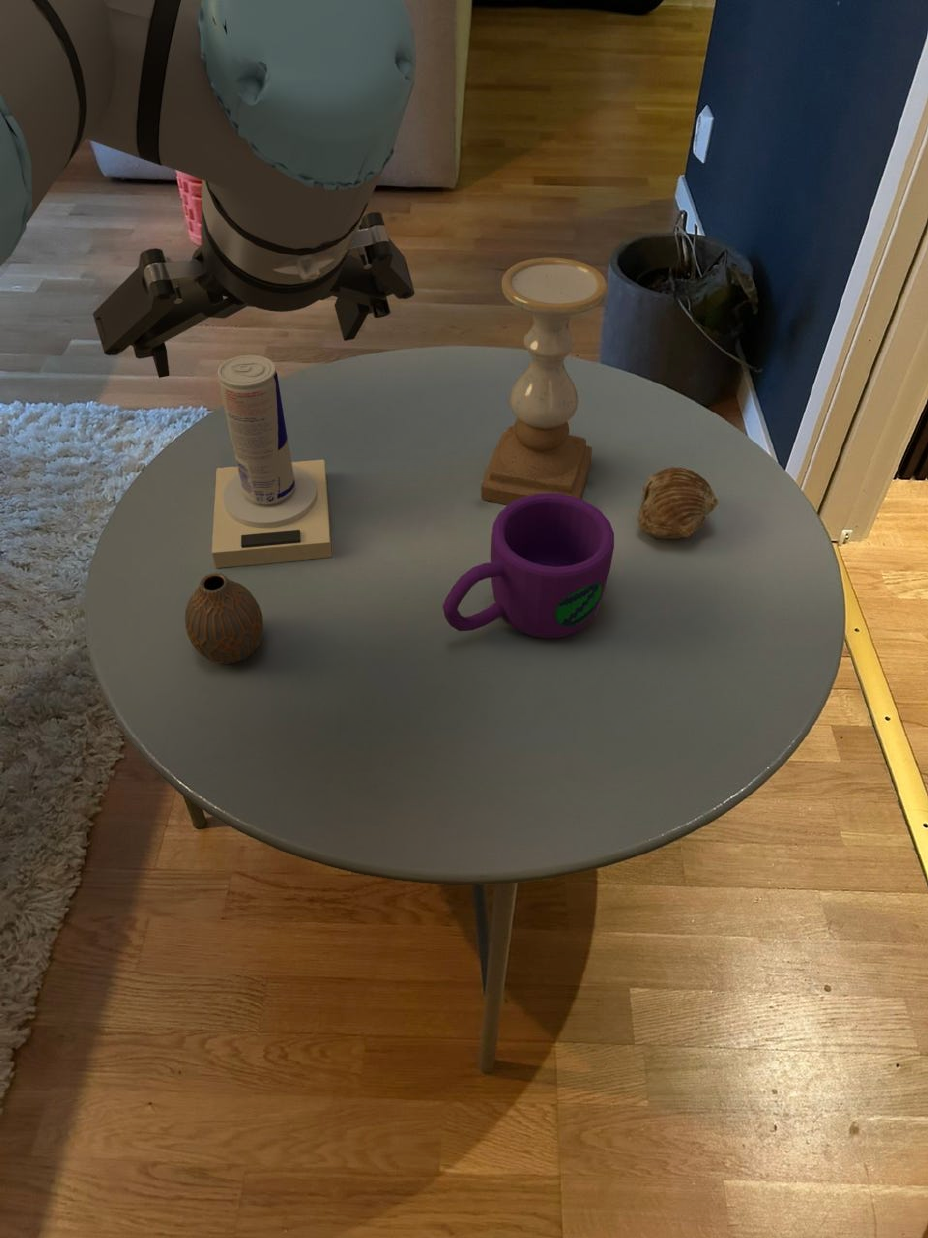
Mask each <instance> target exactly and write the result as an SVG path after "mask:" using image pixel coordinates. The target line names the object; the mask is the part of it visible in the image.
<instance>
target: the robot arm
mask: <svg viewBox="0 0 928 1238" xmlns="http://www.w3.org/2000/svg"><path fill="white" fill-rule="evenodd" d="M415 38H416V37H415V31H414V28H413V23H412V19H411V16H410V13H409V9H408V7H407V5H406V3H405V1H404V0H0V267H1V266H2V265H3V264H4V263H6V261H8V259H9V258H10V257H12V255H13V253H14V251H15V250H16V248H17V246H18V244H19V242H20V241H21V239H22V237H23V236H24V234H25V232H26V231H27V225H28V223H29V221H30V220H31V218H32V216H33V215H34V213H35V212H36V211H37V209H38V208H39V206H40V204H41V203H42V201H43V200H44V199H45V197H46V195H47V194H48V193H49V191H50V190H51V189H52V186H53V185H54V184H55V182H56V180H57V179H58V177H59V176H60V175H61V173H62V172H63V171H65V169H66V168H67V167H68V165H69V163H70V162H71V160H72V159H73V157H74V156H75V155H76V153H77V152H78V151H79V149H80V148H81V147H82V145H83V144H84V143H85V142H86V140H88V141H91V142H94V143H96V144H99V145H102V146H104V147H108V148H111V149H113V150H116V151H118V152H119V151H120V152H122V153H123V154H124V153H125V154H127V155H129V156H133V157H135V158H137V159H141V160H143V161H146V162H150V163H152V164H154V165H158V166H160V167H166V168H169V169H172V170H174V171H177V172H180V173H182V174H186V175H188V176H191V177H194V178H196V179H199V180H201V229H200V230H201V234H200V236H201V244H200V245H199V247H198V248H196V249H195V251H194V252H193V254H192V256H191V259H186V260H184V259H183V260H176V261H172V258H171V257H169V256H165V253H164V251H163V249H162V248H156V247H154V248H148V249H146V250H144V251H142V252H140V255H139V261H138V267H136V269H135V270H133V272H131V274H130V275H129V276H128V277H127V278H126V279H125V280H124V281H123V282H122V283H121V284H120V285H119V286H118V287H117V288H116V289H115V290H114V291H113V292H112V293H111V294H110V295H109V296H108V297H107V298H106V299H105V300H104V301H103V302H102V304H100V305H99V306H98V307H97V309H96V310H95V311H94V312H93V313H92V317H93V320H94V323H95V327H96V330H97V333H98V337H99V340H100V344H101V347H102V351H103V353H104V354H105V355H107V356H116V355H117V356H118V355H120V353H123V352H124V351H126V350H127V349H128V348H129V347H130V346H131V347H132V348H133V352H134V356H135V358H137V359H139V360H141V359H146V358H151V357H152V360H153V363H154V366H155V370H156V373H157V377H158V378H159V379H161V378H162V379H163V378H166V377H170V366H169V356H168V348H167V346H166V345H167V344H166V342H168V341H170V340H171V339H173V338H175V337H176V336H179V335H180V334H182V333H184V332H186V331H188V330H189V329H191V328H193V327H195V326H196V325H198V324H200V323H202V322H204V321H206V320H207V319H209V318H211V319H222V320H223V319H227V318H228V317H231V316H232V315H235V314H236V313H238V312H241V311H242V310H243V309H245V308H247V307H250V308H256V309H260V310H264V311H268V312H277V313H284V312H286V313H287V312H293V311H299V310H302V309H305V308H307V307H310V306H312V305H314V304H316V303H317V302H318V301H324V300H326V299H329V298H331V297H334V298H335V297H336V300H335V302H334V305H333V306H334V310H335V312H336V317H337V321H338V323H339V327H340V330H341V334H342V338H343V341H344V342H346V341H351V340H355V338H356V336H357V334H358V333H359V331H360V329H361V327H362V326H363V324H364V322H365V320H366V318H367V317H368V315H371V314H373V318H374V319H380V318H384V317H387V316H389V315H391V308H390V305H389V302H388V298H387V297H389V296H392V295H394V296H395V298H397V299H399V300H407V299H411V298H412V297H413V296H415V294H416V293H415V289H414V285H413V281H412V278H411V273H410V270H409V267H408V263H407V259H406V257H405V255H404V254H403V252H402V251H401V250H400V249H399V247H397V246H396V244H395V243H394V241H392V239H391V238H390V237H389V236H388V232H387V228H386V225H385V221H384V217H383V214H382V212H380V211H372V212H368V213H366V214H365V212H366V210H367V207H368V206H369V203H370V200H371V198H372V196H373V195H374V194H373V193H374V191H375V189H376V186H377V185H378V182H379V180H380V177H381V176H382V174H383V171H384V169H385V167H386V165H387V164H389V163H390V160H391V159H392V157H393V155H394V153H395V150H394V148H395V145H396V143H397V139H398V136H399V132H400V129H401V125H402V123H403V119H404V115H405V112H406V109H407V106H408V103H409V99H410V97H411V93H412V90H413V87H414V83H415V71H416V64H417V62H416V61H417V46H416V39H415ZM224 297H226V298H224Z"/></svg>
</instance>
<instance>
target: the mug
mask: <svg viewBox="0 0 928 1238" xmlns="http://www.w3.org/2000/svg"><path fill="white" fill-rule="evenodd" d="M490 537H491V539H490V561H489V562H484V563H480V564H479V565H476V566H475V565H474V566H473V567H471V568H470V569H469V570H467V571H466V572H465V573H463V574H462V575H461V576H460V577H459V579H458V580H457V581H456V583H455V584H454V585H453V586H452V587H451V589H450V590H449V592H448V594H447V596H446V597H445V599H444V602H443V604H442V610H443V615H444V618H445V620H446V622H447V623H448V624H449V626H450V627H452V628H453V629H455V630H457V631H459V632H471V631H474V630H478V629H481V628H483V627H485V626H487V625H489V624H491V623H493V622H495V621H497V619H499V618H501V617H502V619H503V620H504V621H505V622H506V623H507V624H508V625H510V626H511V627H512V628H513V629H515V630H517V631H519V632H521V633H523V634H525V635H529V636H532V637H536V638H544V639H554V638H563V637H566V636H568V635H571V634H575V633H576V632H578V631H579V630H582V629H583V628H584V627H585V626H587V625H588V623H589V622H591V620H592V619H593V618H594V617H595V616H596V613H597V611H598V609H599V606H600V604H601V601H602V598H603V596H604V593H605V591H606V587H607V582H608V578H609V575H610V570H611V565H612V560H613V554H614V548H615V533H614V530H613V527H612V525H611V522H610V520H609V519H608V518H607V517H606V515H605V514H604V512H603V511H601V510H600V509H599V508H597V507H596V506H594V505H593V504H592V503H590V502H588V501H585V500H584V499H582V498H581V499H579V498H576V497H572V496H568V495H564V494H555V493H543V494H533V495H530V496H526V497H523V498H520V499H518V500H516V501H514V502H512V503H510V504H509V505H507V504H506V506H505V507H504V508H503V509H501V511H500V512H499V513H498V514H497V516H496V518H495V520H494V521H493V523H492V528H491V535H490ZM486 579H490V581H491V582H490V583H491V589H492V595H493V599H494V602H493V603H492V604H490V606H489V607H487V608H485V609H483V610H482V611H480V612H478V613H475V614H472V615H469V616H463V615H462V614H461V613H460V611H459V610H458V609H459V606H460V604H461V603H462V601H463V600H464V598H465V596H466V595H467V594H468V593H469V592H470V590H471V589H472V588H473V587H474V586H475V585H476V584H477V583H479V582H480V581H483V580H486Z"/></svg>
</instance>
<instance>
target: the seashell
mask: <svg viewBox="0 0 928 1238" xmlns="http://www.w3.org/2000/svg"><path fill="white" fill-rule="evenodd" d="M641 501H642V504H641V507H640V509H639V510H638V512H639V513H638V516H637V523H638V527H639V528H640V530H641V531H642V533H643V534H645V535H647V536H648V537H652V538H655V539H656V538H657V539H662V540H675V539H681V538H690V537H691V536H692V534H693V533H695V532H696V531H697V530H699V528H701V526H702V525H703V523H704V522H705V519H706V516H708V515H709V514H710V513H712V512H713V511H714V510H715V508H716V507H717V506H718V505H719V500H718V499H717V497H716V495H715V493H714V491H713V489H712V487H711V485H710V483H708V481H707V480H706V479H705V478H704V477H702V476H701V475H700V474H699V473H697V472H695V471H693V470H691V469H687V468H684V467H668V468H665V469H662V470H659V471H657V472H656V473H655V472H654V473H653V474H651V475H650V476H649V477H648V479H647V481H646V482H645V483H644V484H643V486H642V495H641Z"/></svg>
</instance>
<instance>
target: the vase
mask: <svg viewBox="0 0 928 1238" xmlns="http://www.w3.org/2000/svg"><path fill="white" fill-rule="evenodd" d="M184 615H185V616H184V624H185V630H186V633H187V636H188V639H189V641H190V644H192V646H193V648H194V649H195V650H196V651H197V652H198V653H199V655H201V656H202V657H203V658H205V659H207V660H209V661H211V662H213V663H217V664H233V663H237V662H240V661H242V660H244V659H246V658H248V657H249V656H251V655H252V653H254V651H256V649H257V648H258V646H259V644H260V642H261V640H262V636H263V633H264V617H263V613H262V610H261V607H260V604H259V602H258V601H257V599H256V597H255V595H253V594H252V592H251V591H250V590H249V589H247V588H246V587H245V586H244V585H243V584H241V583H238V582H236V581H233V580H231V579H229V578H228V577H227V576H226V575H224V574H223V573H216V572H214V573H210V574H206V575H205V576H204V577H203V578H201V580H200V582H199V585H198V587H197V589H196V590H195V591H194V592H193V593H192V595H191V596H190V598H189V600H188V601H187V604H186V608H185V613H184Z"/></svg>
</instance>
